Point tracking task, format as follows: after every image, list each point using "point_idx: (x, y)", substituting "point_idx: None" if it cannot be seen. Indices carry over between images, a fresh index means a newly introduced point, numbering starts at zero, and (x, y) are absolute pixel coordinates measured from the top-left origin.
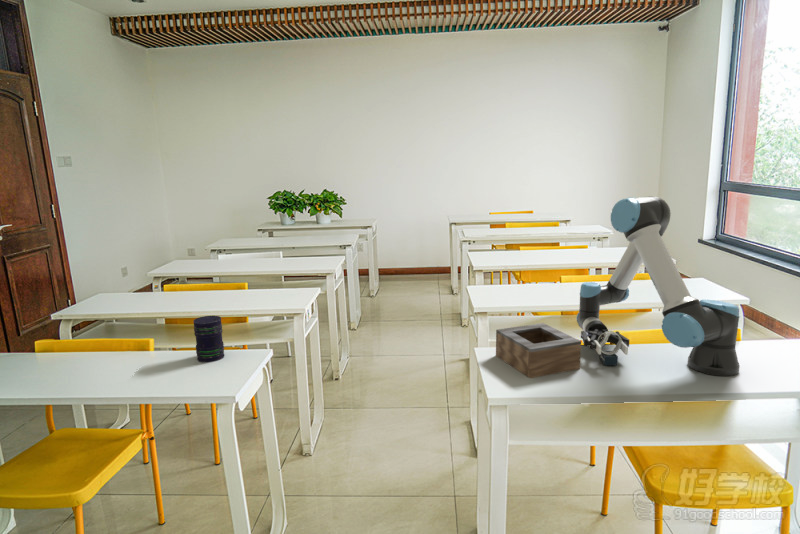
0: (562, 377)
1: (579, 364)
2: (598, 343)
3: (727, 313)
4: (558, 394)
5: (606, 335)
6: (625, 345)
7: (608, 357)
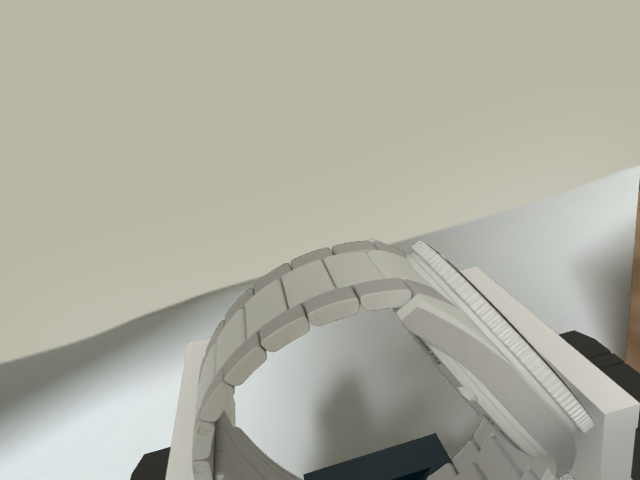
0: None
1: (628, 362)
2: (513, 322)
3: None
4: (552, 199)
5: (409, 255)
6: (196, 367)
7: (401, 452)
